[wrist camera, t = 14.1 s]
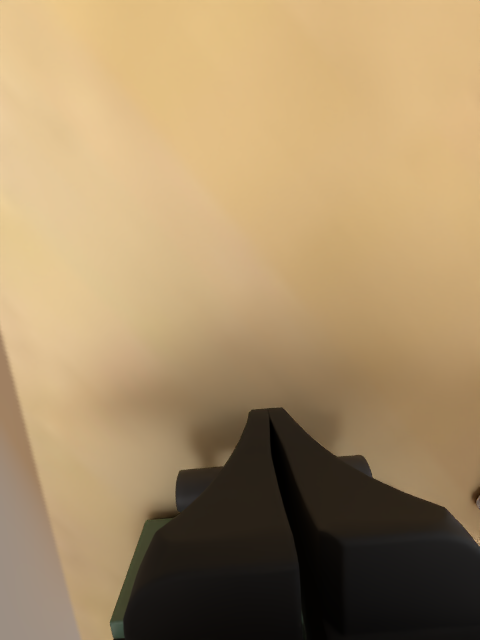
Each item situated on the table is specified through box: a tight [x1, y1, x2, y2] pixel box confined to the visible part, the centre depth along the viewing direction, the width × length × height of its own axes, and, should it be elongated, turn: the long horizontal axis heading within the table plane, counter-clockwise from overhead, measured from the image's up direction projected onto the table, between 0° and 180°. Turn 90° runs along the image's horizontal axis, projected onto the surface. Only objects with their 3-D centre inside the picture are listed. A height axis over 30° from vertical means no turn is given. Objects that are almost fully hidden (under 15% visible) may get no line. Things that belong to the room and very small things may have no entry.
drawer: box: [110, 455, 373, 640], centre depth 13 cm, size 18×12×4 cm
